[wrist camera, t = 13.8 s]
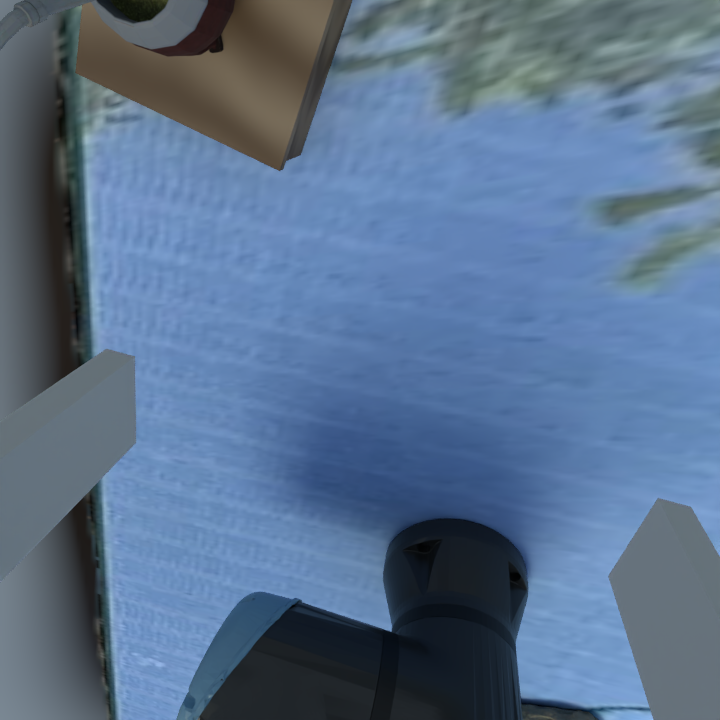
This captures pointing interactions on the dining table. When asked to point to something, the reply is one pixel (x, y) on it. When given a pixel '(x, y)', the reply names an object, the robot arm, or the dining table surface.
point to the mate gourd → (140, 22)
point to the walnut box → (230, 74)
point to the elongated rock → (553, 713)
